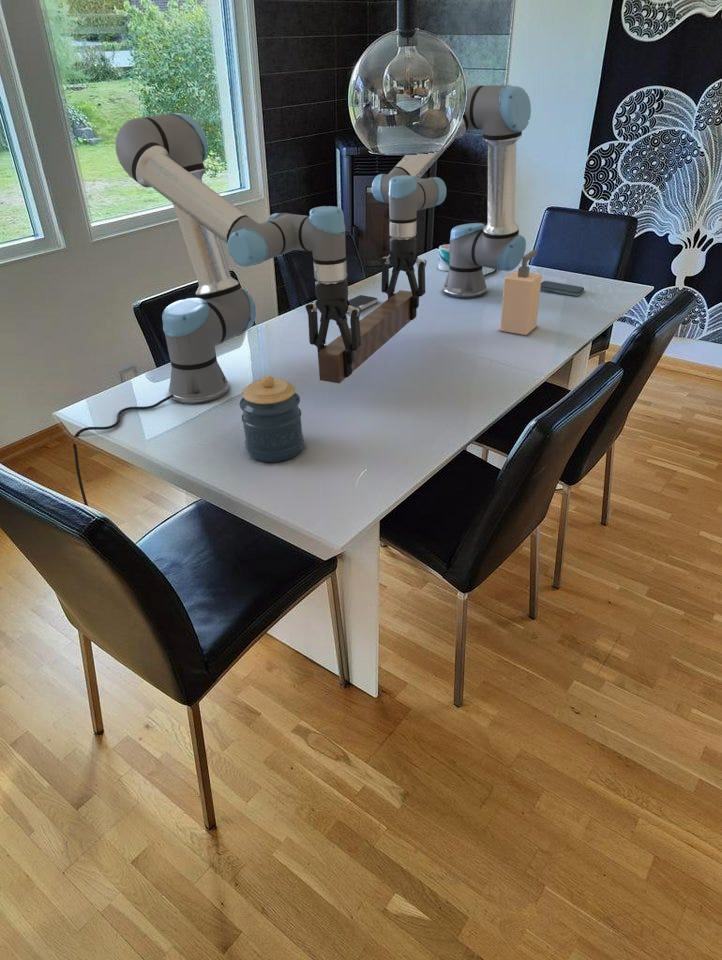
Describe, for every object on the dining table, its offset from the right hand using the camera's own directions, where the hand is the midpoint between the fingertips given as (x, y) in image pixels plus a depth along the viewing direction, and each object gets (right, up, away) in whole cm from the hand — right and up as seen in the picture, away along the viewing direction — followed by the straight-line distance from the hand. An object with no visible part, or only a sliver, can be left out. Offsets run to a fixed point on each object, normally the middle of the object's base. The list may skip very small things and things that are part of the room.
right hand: (403, 317), depth 200 cm
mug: (+23, +37, +69) cm, 81 cm away
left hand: (-19, -22, -34) cm, 44 cm away
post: (-9, -12, -17) cm, 22 cm away
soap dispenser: (+37, -1, +10) cm, 39 cm away
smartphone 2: (+58, +19, +38) cm, 72 cm away
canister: (-32, -42, -49) cm, 72 cm away
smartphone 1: (-14, +11, +32) cm, 37 cm away
